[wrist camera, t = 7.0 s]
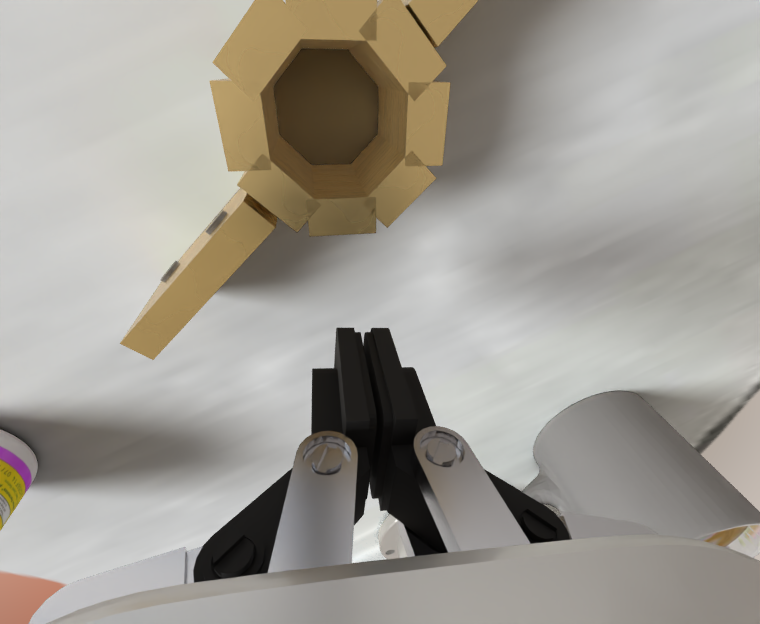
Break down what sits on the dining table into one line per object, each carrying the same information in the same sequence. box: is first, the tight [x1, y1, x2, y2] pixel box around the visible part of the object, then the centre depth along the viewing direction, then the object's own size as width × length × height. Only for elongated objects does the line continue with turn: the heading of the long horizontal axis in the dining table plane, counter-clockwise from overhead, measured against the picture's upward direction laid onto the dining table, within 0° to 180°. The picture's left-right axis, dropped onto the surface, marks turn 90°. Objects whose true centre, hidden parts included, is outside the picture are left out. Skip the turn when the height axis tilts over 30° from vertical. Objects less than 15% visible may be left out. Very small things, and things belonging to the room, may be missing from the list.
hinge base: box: [210, 0, 478, 237], centre depth 11 cm, size 6×14×5 cm, turn 134°
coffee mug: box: [522, 391, 760, 558], centre depth 26 cm, size 13×10×10 cm
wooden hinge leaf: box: [120, 188, 277, 360], centre depth 14 cm, size 7×2×5 cm, turn 133°
